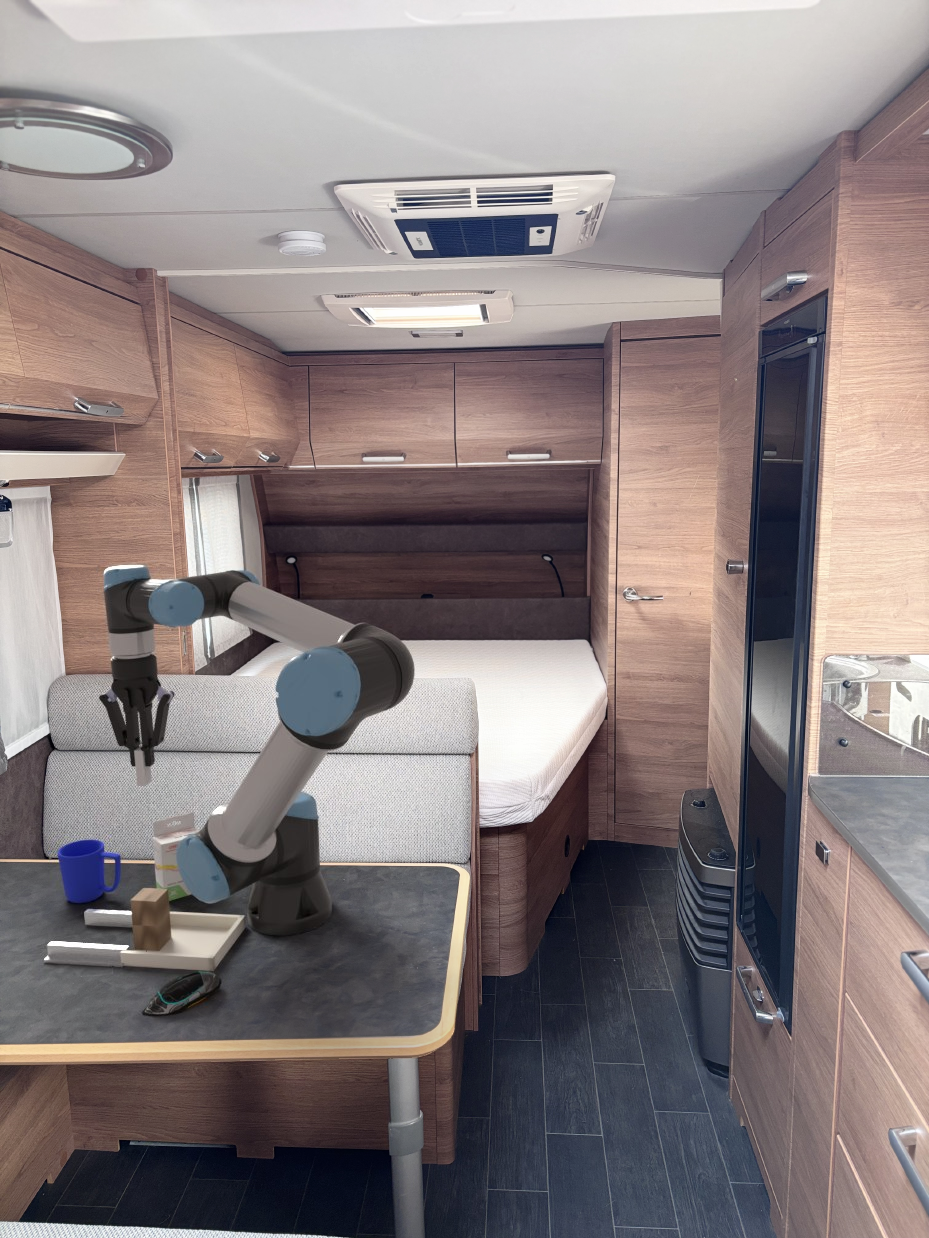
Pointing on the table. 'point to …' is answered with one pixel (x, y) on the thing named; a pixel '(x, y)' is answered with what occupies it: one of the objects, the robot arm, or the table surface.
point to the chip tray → (191, 942)
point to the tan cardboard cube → (152, 935)
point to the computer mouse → (183, 993)
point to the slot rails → (92, 952)
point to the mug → (86, 870)
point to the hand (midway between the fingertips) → (144, 783)
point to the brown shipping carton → (150, 907)
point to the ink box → (171, 853)
